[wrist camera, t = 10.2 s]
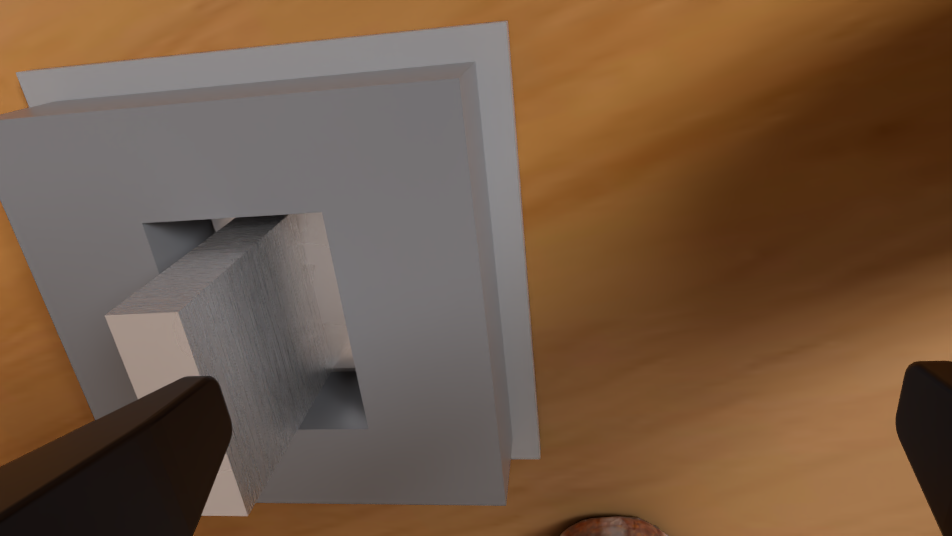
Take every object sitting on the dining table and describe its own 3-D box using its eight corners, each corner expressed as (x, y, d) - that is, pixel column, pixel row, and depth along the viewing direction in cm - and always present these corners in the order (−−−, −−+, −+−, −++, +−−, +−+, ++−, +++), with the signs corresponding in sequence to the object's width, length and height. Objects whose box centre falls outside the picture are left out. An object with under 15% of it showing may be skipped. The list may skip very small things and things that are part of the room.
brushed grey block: (339, 195, 21) (224, 310, 14) (371, 349, 23) (288, 516, 16) (227, 203, 21) (60, 316, 14) (270, 352, 24) (146, 515, 17)
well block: (507, 20, 19) (495, 30, 15) (540, 448, 25) (537, 528, 21) (29, 70, 21) (-80, 89, 17) (173, 449, 27) (115, 520, 24)
